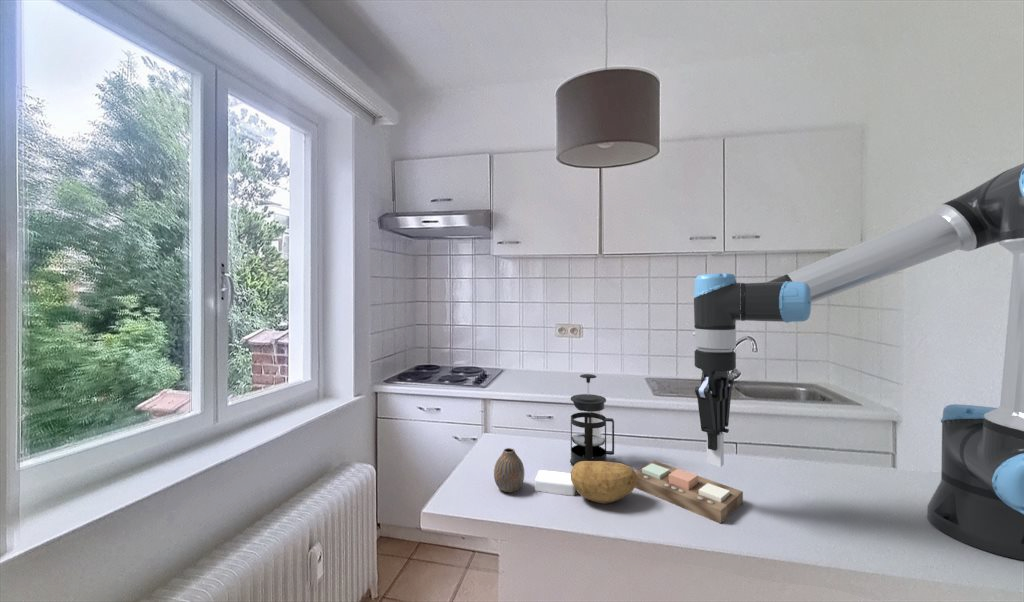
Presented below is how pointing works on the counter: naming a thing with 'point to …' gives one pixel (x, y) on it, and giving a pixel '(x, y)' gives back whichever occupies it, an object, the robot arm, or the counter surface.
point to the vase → (509, 471)
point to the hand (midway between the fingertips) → (715, 463)
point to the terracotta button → (683, 479)
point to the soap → (554, 482)
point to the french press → (589, 428)
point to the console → (690, 495)
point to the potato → (603, 480)
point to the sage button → (656, 471)
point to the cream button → (714, 492)
